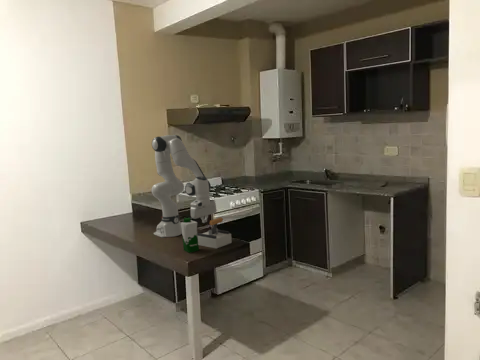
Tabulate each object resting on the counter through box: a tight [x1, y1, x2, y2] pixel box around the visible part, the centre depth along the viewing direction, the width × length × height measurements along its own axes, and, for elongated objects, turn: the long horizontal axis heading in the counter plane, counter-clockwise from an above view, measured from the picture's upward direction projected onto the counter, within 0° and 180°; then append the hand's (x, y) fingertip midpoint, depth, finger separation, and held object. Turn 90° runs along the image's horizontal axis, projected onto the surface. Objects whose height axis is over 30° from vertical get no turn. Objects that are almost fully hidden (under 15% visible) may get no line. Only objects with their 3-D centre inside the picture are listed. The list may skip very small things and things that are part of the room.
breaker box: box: [198, 228, 233, 250], centre depth 259 cm, size 18×14×10 cm
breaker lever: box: [209, 216, 224, 235], centre depth 256 cm, size 2×10×10 cm, turn 139°
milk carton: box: [180, 217, 200, 254], centre depth 246 cm, size 9×9×20 cm
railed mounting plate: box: [197, 228, 231, 239], centre depth 258 cm, size 16×13×1 cm
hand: (204, 222), depth 262 cm, fingers closed
